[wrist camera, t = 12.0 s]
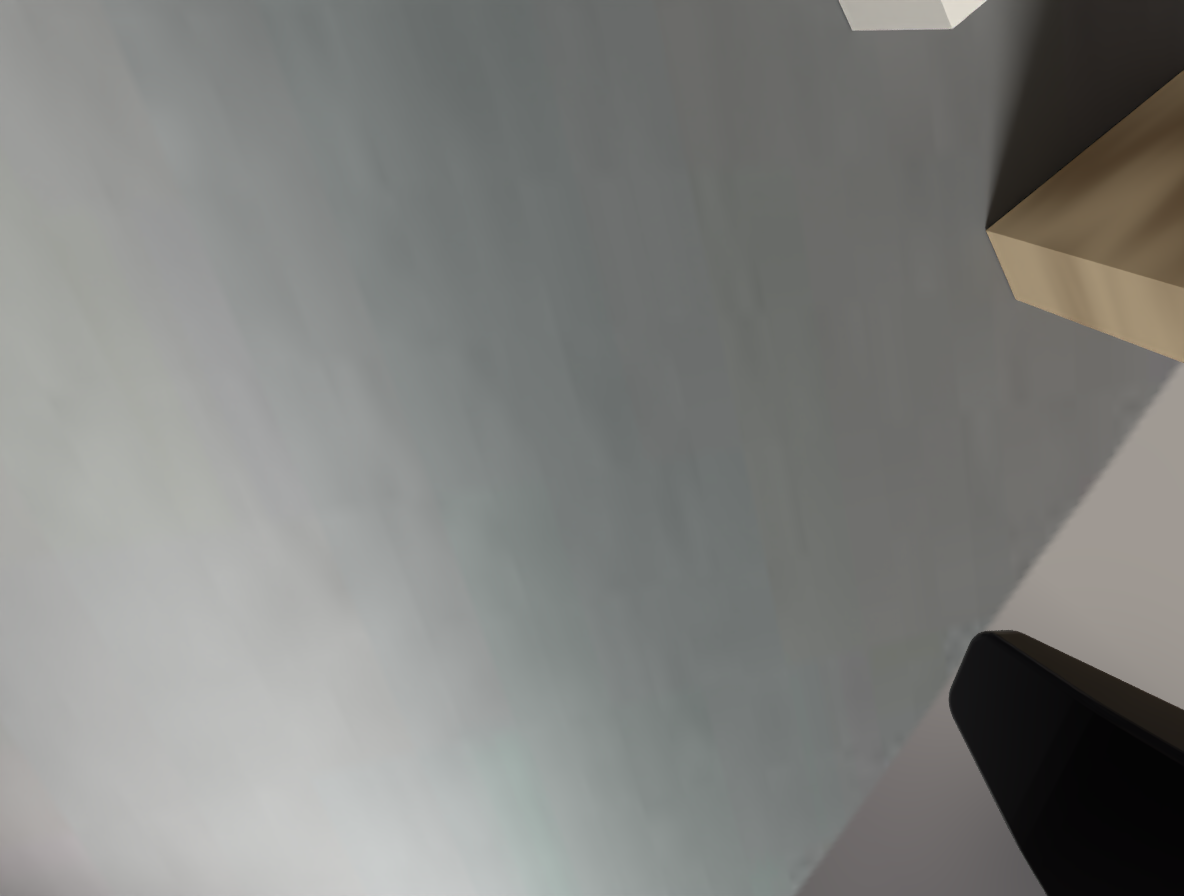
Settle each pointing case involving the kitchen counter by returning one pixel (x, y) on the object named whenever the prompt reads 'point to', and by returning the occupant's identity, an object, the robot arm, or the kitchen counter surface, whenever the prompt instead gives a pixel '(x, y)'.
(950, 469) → the kitchen counter surface
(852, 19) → the socket
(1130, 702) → the robot arm
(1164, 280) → the tall textured pillar
